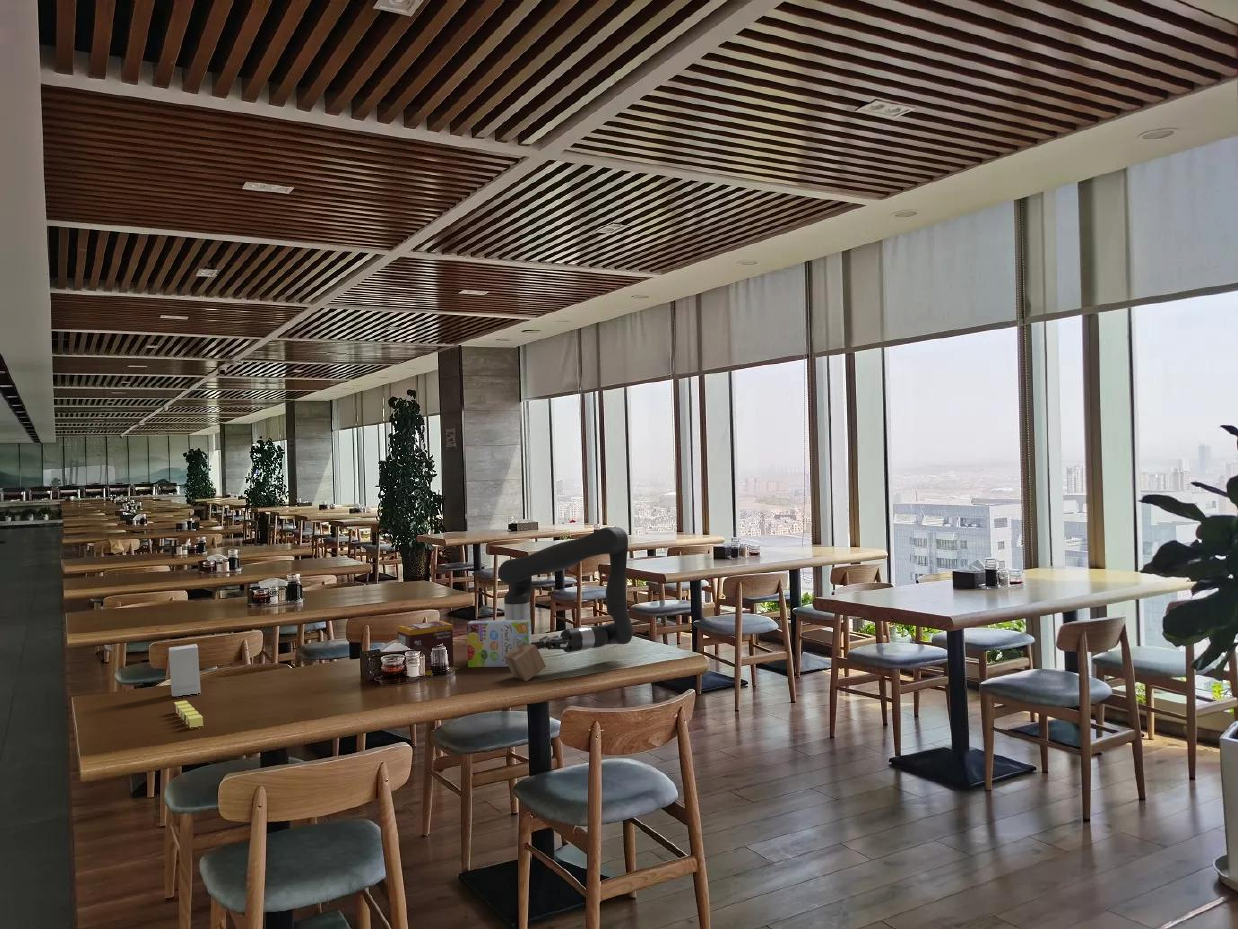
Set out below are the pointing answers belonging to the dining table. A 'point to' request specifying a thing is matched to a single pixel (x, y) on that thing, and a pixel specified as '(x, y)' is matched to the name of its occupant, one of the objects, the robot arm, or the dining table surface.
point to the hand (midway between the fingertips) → (531, 646)
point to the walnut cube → (524, 661)
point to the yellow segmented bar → (188, 714)
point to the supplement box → (428, 639)
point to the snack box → (495, 640)
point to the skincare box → (184, 670)
